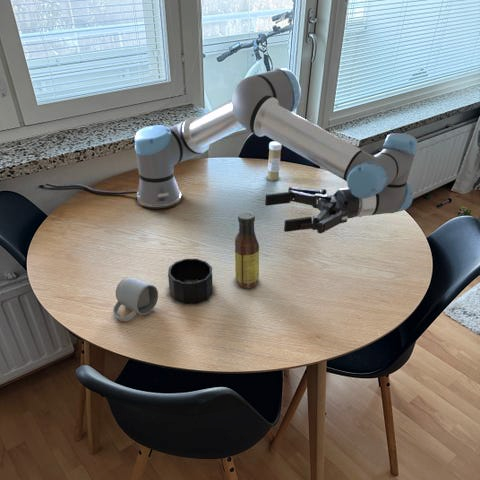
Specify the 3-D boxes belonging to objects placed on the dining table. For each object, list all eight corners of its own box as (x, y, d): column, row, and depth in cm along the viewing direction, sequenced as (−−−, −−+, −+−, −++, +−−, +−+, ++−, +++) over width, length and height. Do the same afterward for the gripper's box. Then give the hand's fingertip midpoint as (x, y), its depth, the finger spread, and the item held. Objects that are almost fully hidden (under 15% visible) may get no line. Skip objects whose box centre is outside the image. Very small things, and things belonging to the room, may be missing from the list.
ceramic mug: (136, 293, 113) (131, 268, 108) (160, 304, 110) (156, 279, 105) (106, 315, 107) (99, 291, 102) (131, 328, 103) (125, 303, 98)
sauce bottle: (262, 279, 119) (266, 212, 106) (252, 291, 115) (255, 224, 102) (240, 273, 121) (241, 207, 108) (230, 285, 117) (230, 218, 104)
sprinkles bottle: (266, 175, 171) (269, 140, 162) (278, 176, 171) (281, 141, 162) (267, 180, 168) (269, 145, 159) (279, 181, 168) (282, 145, 159)
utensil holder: (162, 296, 113) (159, 275, 108) (185, 274, 120) (183, 254, 116) (198, 309, 109) (197, 288, 105) (220, 285, 116) (219, 265, 112)
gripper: (374, 240, 105) (292, 252, 100) (329, 195, 123) (258, 203, 118) (382, 211, 100) (295, 223, 95) (334, 169, 118) (259, 177, 113)
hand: (274, 212), depth 106 cm, fingers open, 13 cm apart
